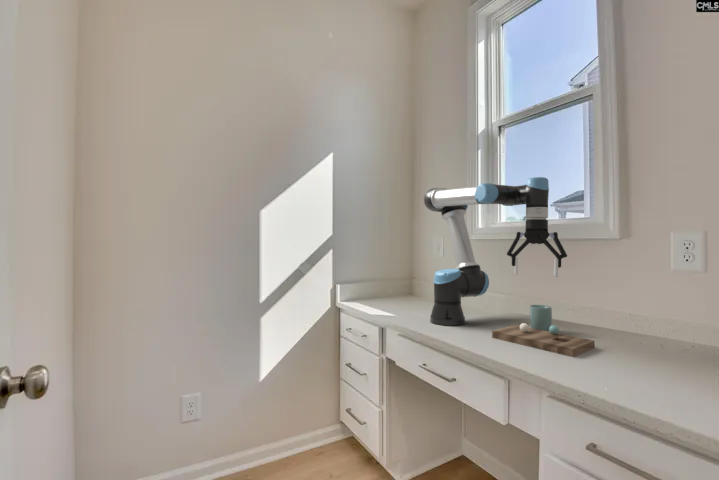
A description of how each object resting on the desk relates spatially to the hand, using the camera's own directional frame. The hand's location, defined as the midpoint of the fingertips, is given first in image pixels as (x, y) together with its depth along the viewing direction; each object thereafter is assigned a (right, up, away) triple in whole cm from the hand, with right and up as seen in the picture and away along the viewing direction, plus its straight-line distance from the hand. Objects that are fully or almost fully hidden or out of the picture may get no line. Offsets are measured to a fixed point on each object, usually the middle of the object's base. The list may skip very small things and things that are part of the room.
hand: (535, 275), depth 132 cm
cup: (+6, -23, +8) cm, 26 cm away
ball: (-6, -19, -3) cm, 20 cm away
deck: (-2, -23, -8) cm, 24 cm away
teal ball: (+4, -19, -6) cm, 20 cm away
